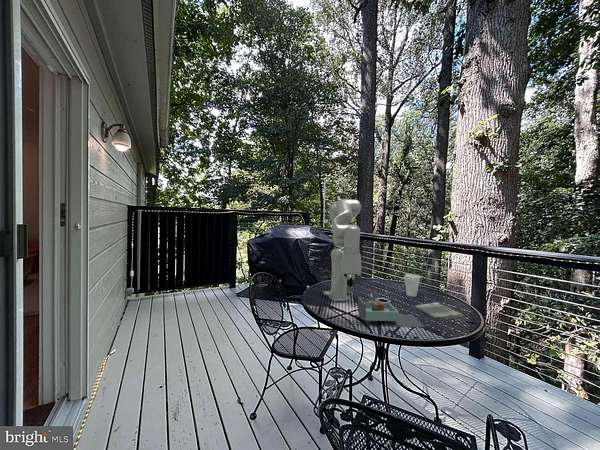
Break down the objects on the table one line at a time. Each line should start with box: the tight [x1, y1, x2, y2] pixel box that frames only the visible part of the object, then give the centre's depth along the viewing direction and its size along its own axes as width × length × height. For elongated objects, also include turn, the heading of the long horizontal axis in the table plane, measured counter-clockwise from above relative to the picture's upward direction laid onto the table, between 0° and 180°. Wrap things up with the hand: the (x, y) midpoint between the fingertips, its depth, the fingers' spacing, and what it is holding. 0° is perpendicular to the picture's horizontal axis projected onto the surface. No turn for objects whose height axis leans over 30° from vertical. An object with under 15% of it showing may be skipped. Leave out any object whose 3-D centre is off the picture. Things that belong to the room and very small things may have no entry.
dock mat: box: [384, 313, 426, 328], centre depth 153 cm, size 18×16×1 cm
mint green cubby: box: [357, 296, 400, 325], centre depth 152 cm, size 17×14×10 cm
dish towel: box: [414, 301, 464, 320], centre depth 167 cm, size 19×18×3 cm
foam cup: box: [404, 273, 421, 298], centre depth 197 cm, size 10×9×13 cm
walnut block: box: [371, 300, 385, 311], centre depth 152 cm, size 5×5×5 cm
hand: (349, 286), depth 151 cm, fingers closed
